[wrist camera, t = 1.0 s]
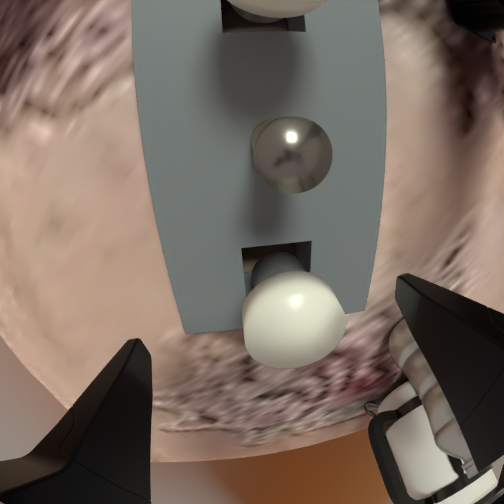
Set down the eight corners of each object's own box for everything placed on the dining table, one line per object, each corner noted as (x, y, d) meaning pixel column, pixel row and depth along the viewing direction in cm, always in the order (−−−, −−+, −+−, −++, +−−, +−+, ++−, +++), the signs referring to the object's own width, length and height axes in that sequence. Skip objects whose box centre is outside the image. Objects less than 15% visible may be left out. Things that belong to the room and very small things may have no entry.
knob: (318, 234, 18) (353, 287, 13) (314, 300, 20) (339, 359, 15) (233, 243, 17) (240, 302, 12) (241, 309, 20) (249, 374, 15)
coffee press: (453, 336, 32) (542, 493, 6) (432, 390, 40) (489, 514, 14) (348, 382, 33) (414, 581, 7) (348, 426, 41) (390, 567, 15)
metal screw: (298, 112, 14) (332, 116, 10) (300, 165, 15) (331, 191, 11) (242, 115, 14) (252, 118, 9) (246, 168, 15) (257, 196, 11)
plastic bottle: (429, 328, 30) (505, 451, 13) (385, 354, 31) (449, 490, 14) (428, 295, 27) (526, 435, 10) (378, 324, 28) (460, 485, 11)
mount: (345, -23, 12) (368, -42, 9) (347, 282, 25) (364, 310, 21) (147, -19, 11) (132, -42, 8) (189, 301, 24) (185, 333, 20)
